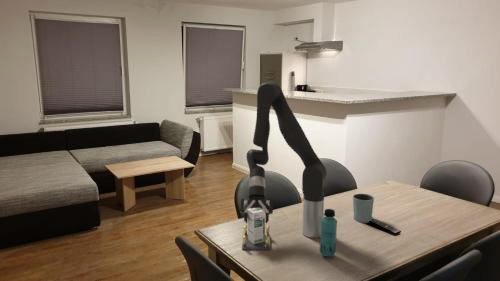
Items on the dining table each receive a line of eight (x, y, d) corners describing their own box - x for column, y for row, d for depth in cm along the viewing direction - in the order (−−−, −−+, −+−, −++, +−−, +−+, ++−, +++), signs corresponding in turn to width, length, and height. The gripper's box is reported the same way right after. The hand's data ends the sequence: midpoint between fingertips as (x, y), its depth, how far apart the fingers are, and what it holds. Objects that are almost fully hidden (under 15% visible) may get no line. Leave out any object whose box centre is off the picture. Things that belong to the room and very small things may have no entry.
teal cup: (373, 224, 181) (375, 201, 179) (352, 222, 183) (353, 199, 181) (371, 216, 191) (372, 194, 189) (351, 214, 193) (352, 192, 191)
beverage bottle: (317, 252, 155) (319, 207, 150) (333, 251, 155) (335, 206, 151) (321, 260, 148) (323, 213, 144) (337, 259, 149) (340, 213, 145)
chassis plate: (270, 237, 168) (270, 225, 167) (270, 250, 157) (270, 237, 155) (243, 236, 169) (243, 225, 168) (242, 249, 157) (242, 237, 156)
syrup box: (253, 244, 159) (253, 212, 156) (247, 238, 164) (247, 208, 161) (265, 241, 161) (265, 210, 158) (258, 236, 166) (258, 205, 163)
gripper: (240, 184, 165) (239, 219, 156) (272, 184, 165) (273, 219, 156) (241, 191, 172) (240, 225, 163) (272, 192, 171) (272, 225, 162)
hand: (256, 222), depth 159 cm, fingers open, 8 cm apart
